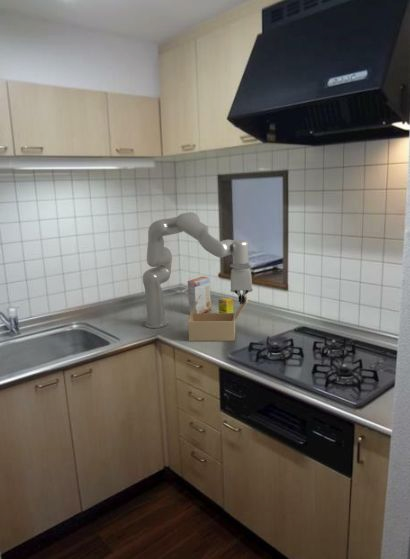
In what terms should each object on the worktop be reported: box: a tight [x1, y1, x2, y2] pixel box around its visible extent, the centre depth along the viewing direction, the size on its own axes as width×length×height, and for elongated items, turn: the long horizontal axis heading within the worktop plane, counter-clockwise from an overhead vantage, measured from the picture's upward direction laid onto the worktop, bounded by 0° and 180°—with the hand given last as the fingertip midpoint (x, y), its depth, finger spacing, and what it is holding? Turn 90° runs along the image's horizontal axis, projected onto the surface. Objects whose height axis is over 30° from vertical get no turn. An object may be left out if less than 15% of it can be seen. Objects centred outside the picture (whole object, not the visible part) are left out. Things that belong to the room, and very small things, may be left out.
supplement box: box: [218, 297, 234, 313], centre depth 242 cm, size 6×6×11 cm
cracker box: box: [187, 276, 212, 315], centre depth 252 cm, size 14×6×21 cm, turn 141°
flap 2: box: [234, 294, 248, 322], centre depth 208 cm, size 11×14×1 cm
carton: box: [187, 312, 236, 343], centre depth 212 cm, size 22×14×10 cm, turn 84°
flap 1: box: [186, 295, 201, 322], centre depth 211 cm, size 11×14×1 cm
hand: (241, 303), depth 208 cm, fingers closed
